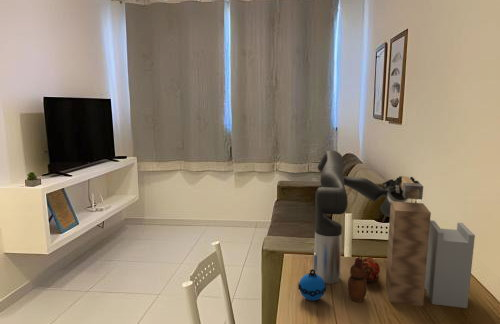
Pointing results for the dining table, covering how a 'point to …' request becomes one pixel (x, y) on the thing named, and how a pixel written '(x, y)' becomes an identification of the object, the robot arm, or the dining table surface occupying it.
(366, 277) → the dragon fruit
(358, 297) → the wooden figurine
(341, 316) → the dining table surface
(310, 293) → the ornament
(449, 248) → the grey post
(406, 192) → the light wooden block
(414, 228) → the walnut post
